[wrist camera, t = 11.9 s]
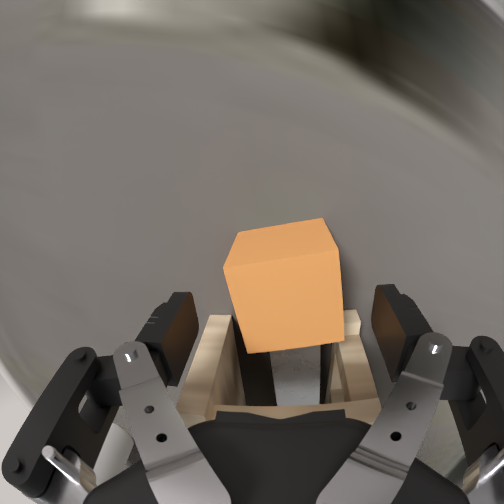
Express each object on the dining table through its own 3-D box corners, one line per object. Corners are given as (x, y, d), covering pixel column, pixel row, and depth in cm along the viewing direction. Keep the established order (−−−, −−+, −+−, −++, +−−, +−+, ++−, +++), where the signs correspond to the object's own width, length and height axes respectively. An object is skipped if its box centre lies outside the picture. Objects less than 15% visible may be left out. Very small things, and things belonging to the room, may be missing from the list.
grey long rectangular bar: (315, 405, 23) (317, 435, 20) (282, 407, 23) (281, 438, 20) (314, 295, 18) (320, 328, 15) (269, 299, 19) (266, 332, 16)
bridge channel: (326, 459, 27) (329, 517, 19) (245, 460, 28) (236, 518, 20) (355, 309, 18) (389, 408, 10) (210, 315, 19) (174, 412, 12)
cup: (77, 404, 28) (39, 470, 17) (132, 430, 28) (100, 504, 17) (87, 431, 31) (58, 488, 20) (135, 452, 31) (111, 515, 20)
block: (330, 291, 18) (344, 340, 13) (255, 302, 19) (247, 353, 14) (322, 217, 16) (338, 249, 12) (238, 231, 17) (222, 268, 12)
